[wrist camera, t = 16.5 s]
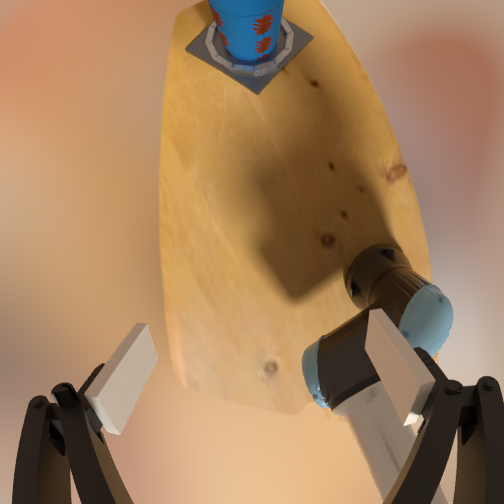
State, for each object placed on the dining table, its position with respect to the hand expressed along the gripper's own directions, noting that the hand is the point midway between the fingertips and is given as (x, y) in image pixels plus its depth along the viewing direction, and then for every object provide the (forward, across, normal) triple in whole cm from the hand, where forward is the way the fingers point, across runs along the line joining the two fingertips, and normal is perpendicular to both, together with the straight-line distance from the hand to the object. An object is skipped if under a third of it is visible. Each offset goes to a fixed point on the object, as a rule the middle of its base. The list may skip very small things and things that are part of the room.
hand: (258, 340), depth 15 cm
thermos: (+37, -1, -38) cm, 53 cm away
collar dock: (+38, -1, -38) cm, 53 cm away
